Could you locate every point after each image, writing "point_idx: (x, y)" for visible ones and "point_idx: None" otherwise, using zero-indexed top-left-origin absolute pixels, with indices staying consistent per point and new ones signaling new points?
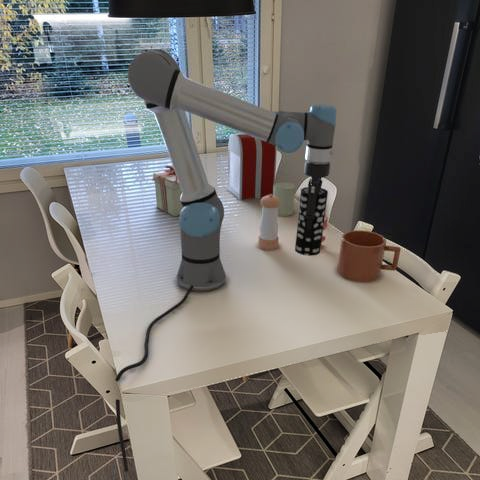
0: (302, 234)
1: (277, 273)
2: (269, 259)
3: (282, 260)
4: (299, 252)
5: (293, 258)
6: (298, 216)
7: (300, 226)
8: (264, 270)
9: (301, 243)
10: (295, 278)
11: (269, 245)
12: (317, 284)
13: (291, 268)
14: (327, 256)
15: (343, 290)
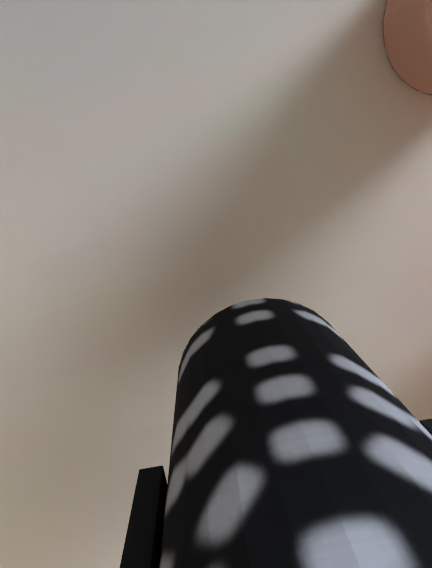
0: (173, 461)
1: (91, 225)
2: (246, 112)
3: (265, 193)
4: (184, 354)
5: (317, 243)
6: (286, 543)
7: (184, 496)
8: (88, 140)
9: (177, 402)
10: (86, 329)
11: (403, 43)
12: (82, 435)
13: (187, 274)
14: (405, 394)
15: (87, 534)
